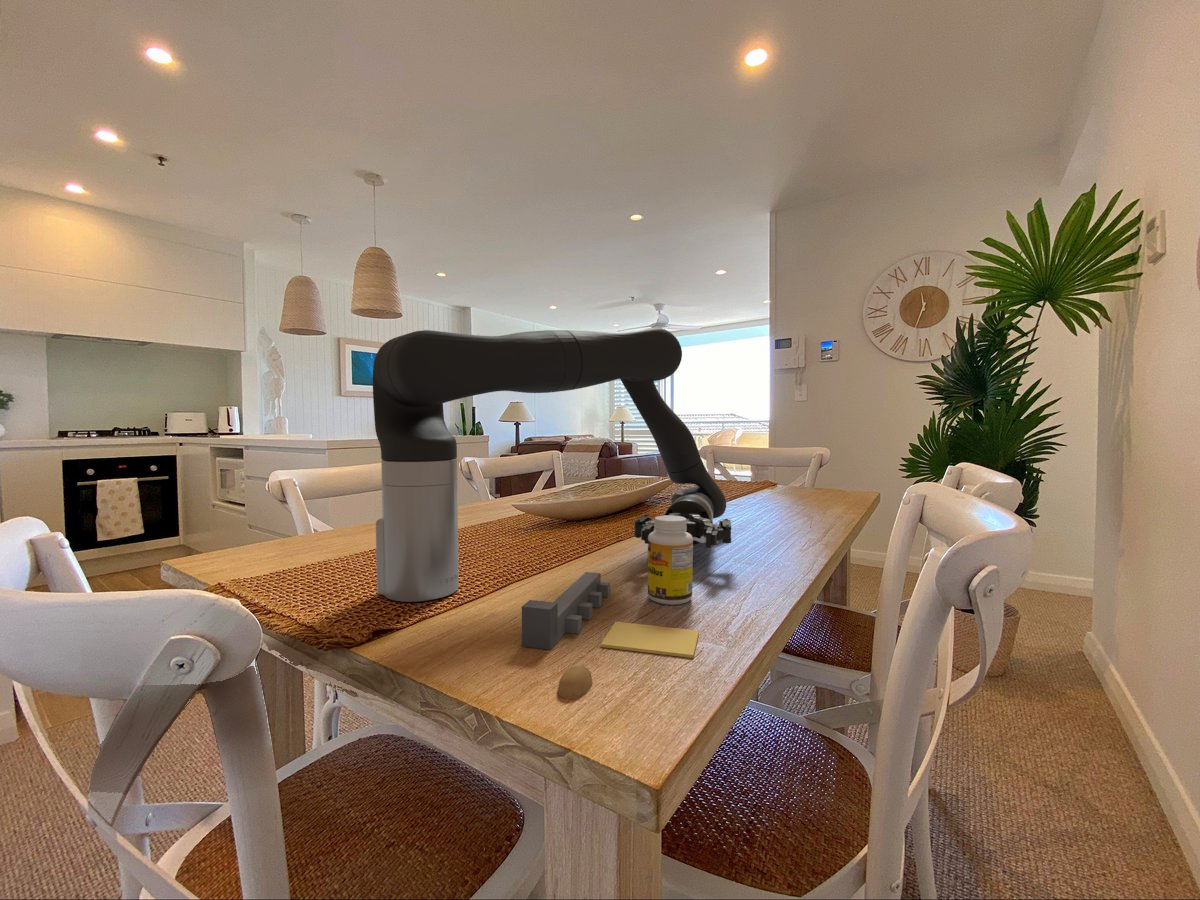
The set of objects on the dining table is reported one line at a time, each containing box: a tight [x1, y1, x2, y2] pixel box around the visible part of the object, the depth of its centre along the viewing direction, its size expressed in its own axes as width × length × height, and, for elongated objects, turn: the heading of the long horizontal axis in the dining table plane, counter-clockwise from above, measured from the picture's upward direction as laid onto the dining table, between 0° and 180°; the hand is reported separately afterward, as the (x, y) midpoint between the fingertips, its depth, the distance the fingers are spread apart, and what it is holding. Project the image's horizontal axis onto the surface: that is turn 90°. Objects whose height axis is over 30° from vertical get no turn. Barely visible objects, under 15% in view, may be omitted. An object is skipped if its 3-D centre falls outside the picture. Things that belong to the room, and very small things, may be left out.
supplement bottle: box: [647, 514, 694, 606], centre depth 66 cm, size 6×6×10 cm
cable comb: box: [521, 571, 611, 651], centre depth 60 cm, size 4×18×4 cm, turn 164°
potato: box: [557, 664, 593, 700], centre depth 44 cm, size 3×4×2 cm, turn 157°
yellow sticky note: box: [600, 621, 700, 659], centre depth 53 cm, size 9×6×1 cm, turn 74°
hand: (677, 538), depth 73 cm, fingers open, 8 cm apart
